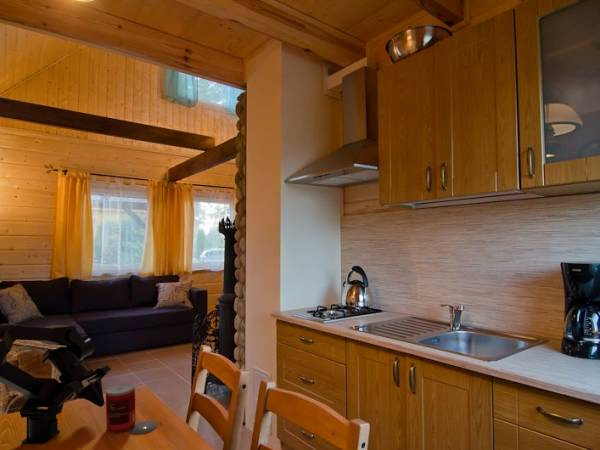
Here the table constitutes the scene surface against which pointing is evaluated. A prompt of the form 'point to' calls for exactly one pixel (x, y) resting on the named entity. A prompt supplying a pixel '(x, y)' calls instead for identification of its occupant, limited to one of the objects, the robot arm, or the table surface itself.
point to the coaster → (143, 427)
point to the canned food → (120, 407)
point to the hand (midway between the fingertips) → (102, 405)
